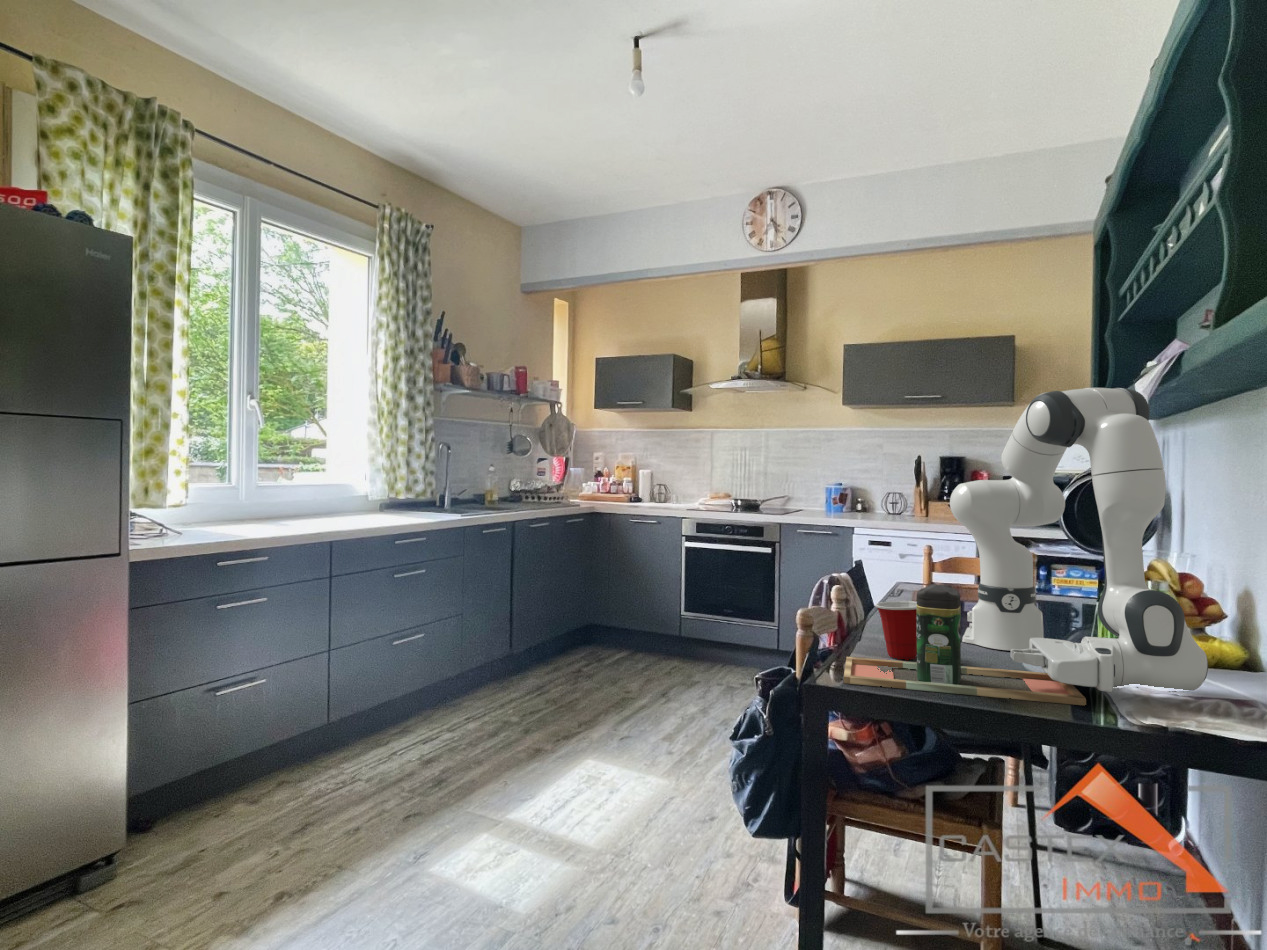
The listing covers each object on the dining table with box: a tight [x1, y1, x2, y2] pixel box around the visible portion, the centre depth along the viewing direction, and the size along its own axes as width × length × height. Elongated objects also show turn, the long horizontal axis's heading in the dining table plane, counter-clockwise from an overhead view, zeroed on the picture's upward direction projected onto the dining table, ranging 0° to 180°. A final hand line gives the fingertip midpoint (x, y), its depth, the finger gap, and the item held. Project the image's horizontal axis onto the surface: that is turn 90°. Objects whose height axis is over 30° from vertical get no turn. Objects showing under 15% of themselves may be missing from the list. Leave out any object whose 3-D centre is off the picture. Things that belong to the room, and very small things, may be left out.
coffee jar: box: [916, 584, 962, 685], centre depth 137 cm, size 10×8×19 cm
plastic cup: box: [874, 600, 917, 661], centre depth 156 cm, size 11×11×12 cm
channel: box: [843, 656, 1087, 706], centre depth 137 cm, size 16×40×1 cm, turn 71°
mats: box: [851, 664, 1070, 695], centre depth 137 cm, size 12×38×1 cm, turn 71°
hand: (1011, 655), depth 134 cm, fingers closed
